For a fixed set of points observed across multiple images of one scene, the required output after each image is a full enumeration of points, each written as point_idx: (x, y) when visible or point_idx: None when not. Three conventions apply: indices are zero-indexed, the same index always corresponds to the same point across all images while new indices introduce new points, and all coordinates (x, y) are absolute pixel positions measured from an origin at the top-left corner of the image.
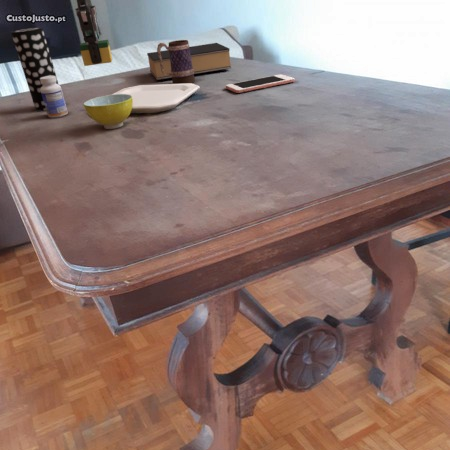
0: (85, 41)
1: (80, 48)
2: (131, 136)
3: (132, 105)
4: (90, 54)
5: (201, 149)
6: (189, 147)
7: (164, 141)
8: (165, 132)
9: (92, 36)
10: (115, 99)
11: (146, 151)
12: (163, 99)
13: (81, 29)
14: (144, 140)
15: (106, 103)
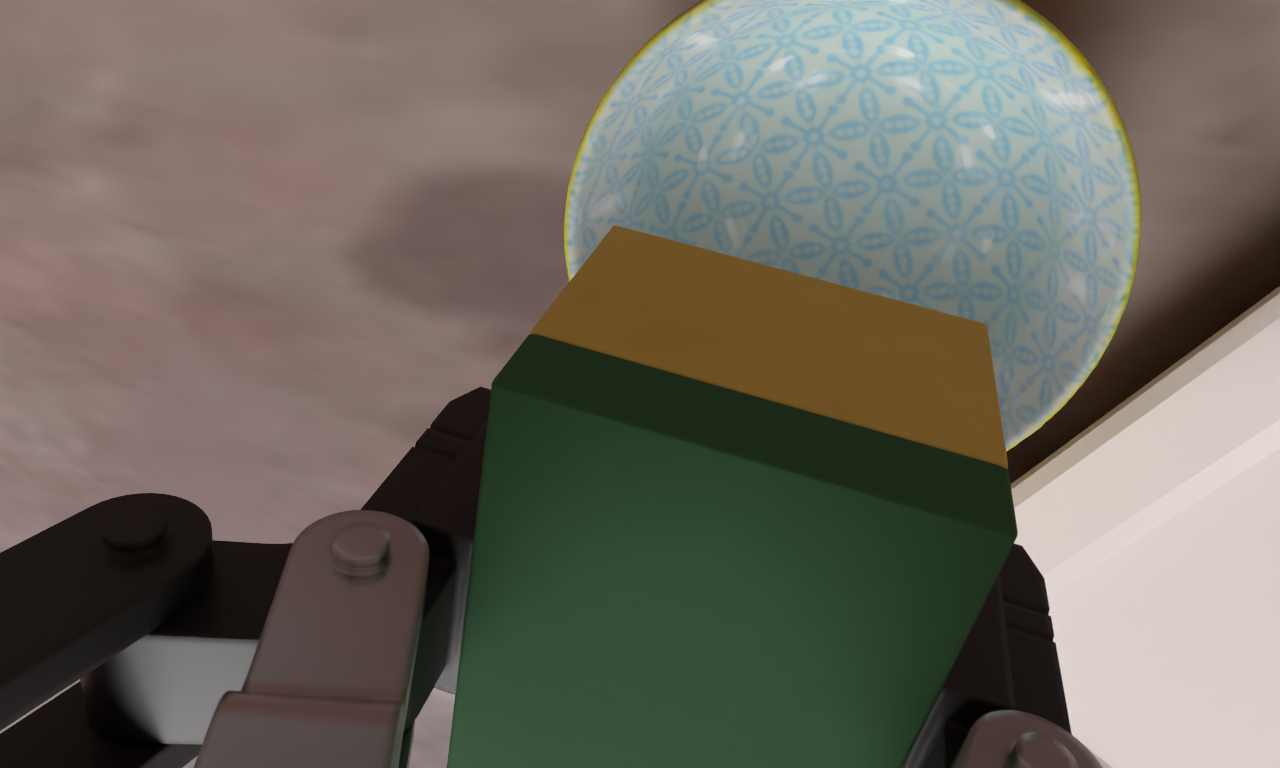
0: (113, 510)
1: (508, 362)
2: (446, 226)
3: (1128, 473)
4: (481, 435)
5: (25, 456)
6: (72, 427)
7: (226, 365)
8: (407, 432)
9: (79, 694)
10: (1039, 361)
11: (81, 219)
12: (1204, 730)
13: (211, 734)
14: (303, 274)
15: (1075, 249)
